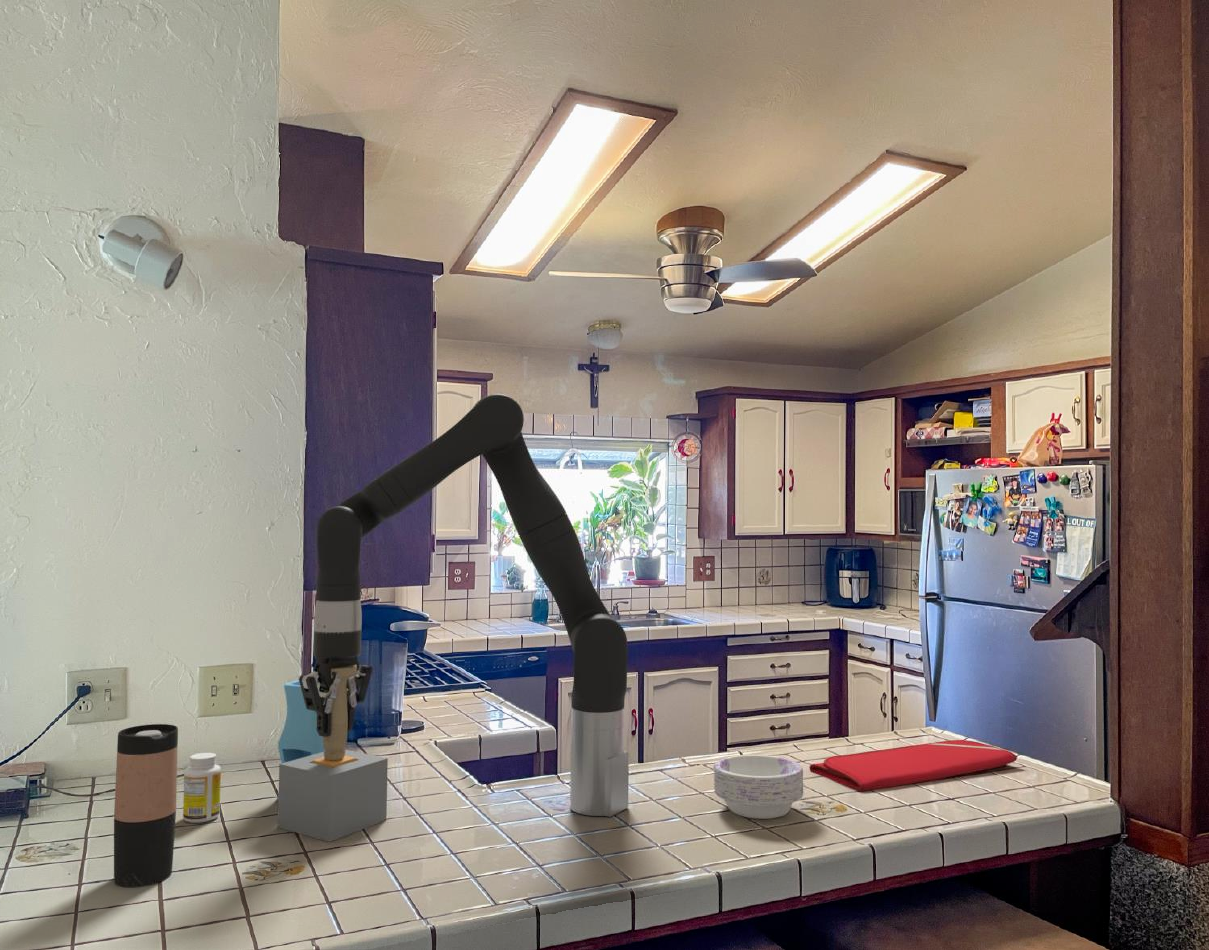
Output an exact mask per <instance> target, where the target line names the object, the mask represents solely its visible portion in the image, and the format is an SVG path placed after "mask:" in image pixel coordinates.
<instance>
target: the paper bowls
mask: <svg viewBox="0 0 1209 950" xmlns="http://www.w3.org/2000/svg"><path fill="white" fill-rule="evenodd" d="M803 779H804V770H803V766H802V765H801V764H800V763H798V762H797V761H795V760H792V759H789V758H786V757H781V756H775V755H766V754H765V755H764V754H740V755H733V756H728V757H724V758H721V759H719V760H717V761H716V762H715V763H714V765H713V785H714V786H713V788H714V794H715V795H716V796H718V797H719V798H720V799H722V800H724V801H725V804H726V807H727V808H728V809H729V811H731V812H732V813H734V814H736V815H738V816H739V817H740V816H741V817H744V818H748V819H757V820H770V819H771V820H772V819H777V818H781V817H783V816H785V815H787V813H788V812H789V811H790V810H791V808H792V806H793V803H795V802H797V801H800V800H801V799H803V796H804V780H803Z"/></svg>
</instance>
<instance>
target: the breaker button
mask: <svg viewBox="0 0 1209 950" xmlns="http://www.w3.org/2000/svg"><path fill="white" fill-rule="evenodd" d="M354 761H356V758H354V757H349V756H344V758H343V759H342V760H336V761H331V760H325V758H324V757H322V758H319V759H315V760H313V763H314V764H318V765H323V766H327V767H332V768H334V767H337V766H340V765H344V764H347V763H350V762H354Z"/></svg>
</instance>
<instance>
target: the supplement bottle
mask: <svg viewBox="0 0 1209 950" xmlns="http://www.w3.org/2000/svg"><path fill="white" fill-rule="evenodd" d="M221 768H222V767H221V765H218V764H217V754H216V753H214V752H200V753H199V752H198V753H195V754H192V755H191V756H190V757H189V767H187V768H186V769H185V770H184V774H183V806H182V807H183V808H182V809H183V811H182V812H183V813H182V817H183V818H182V819H183V820H184V821H185V822H187V823H191V824H199V823H200V824H201V823H205V822H211V821H213V820H215V819H217V818H218V817H219V816H220V814H221V779H222V769H221Z"/></svg>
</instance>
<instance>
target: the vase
mask: <svg viewBox="0 0 1209 950" xmlns="http://www.w3.org/2000/svg"><path fill="white" fill-rule="evenodd" d="M283 687H284V692H285V693H284V694H285V701H286V718H285V723H284V725H283V726H284V727H283V730H282V731H281V734H280V737H279V738H278V739H279V740H278V742H277V743H278V744H277V748H278V753H279V757H280V764H281V763H285V762H288V761H292V760H296V759H299V758H303V757H307V756H310V755H314V754H318V753H321V752H325V749H324V746H323V736H319V734H318V733H317V713H316V712H315V711H312V710H308V709H307V708H306V705H305V701H304V697H303V694H302V690H301V686H300V682H299V679H297V680H294V681H289V682H286V683H284V684H283ZM317 687H318V685H317ZM324 701H325V700H324ZM278 797H279V792H278V793H277V798H276V800H278Z"/></svg>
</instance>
